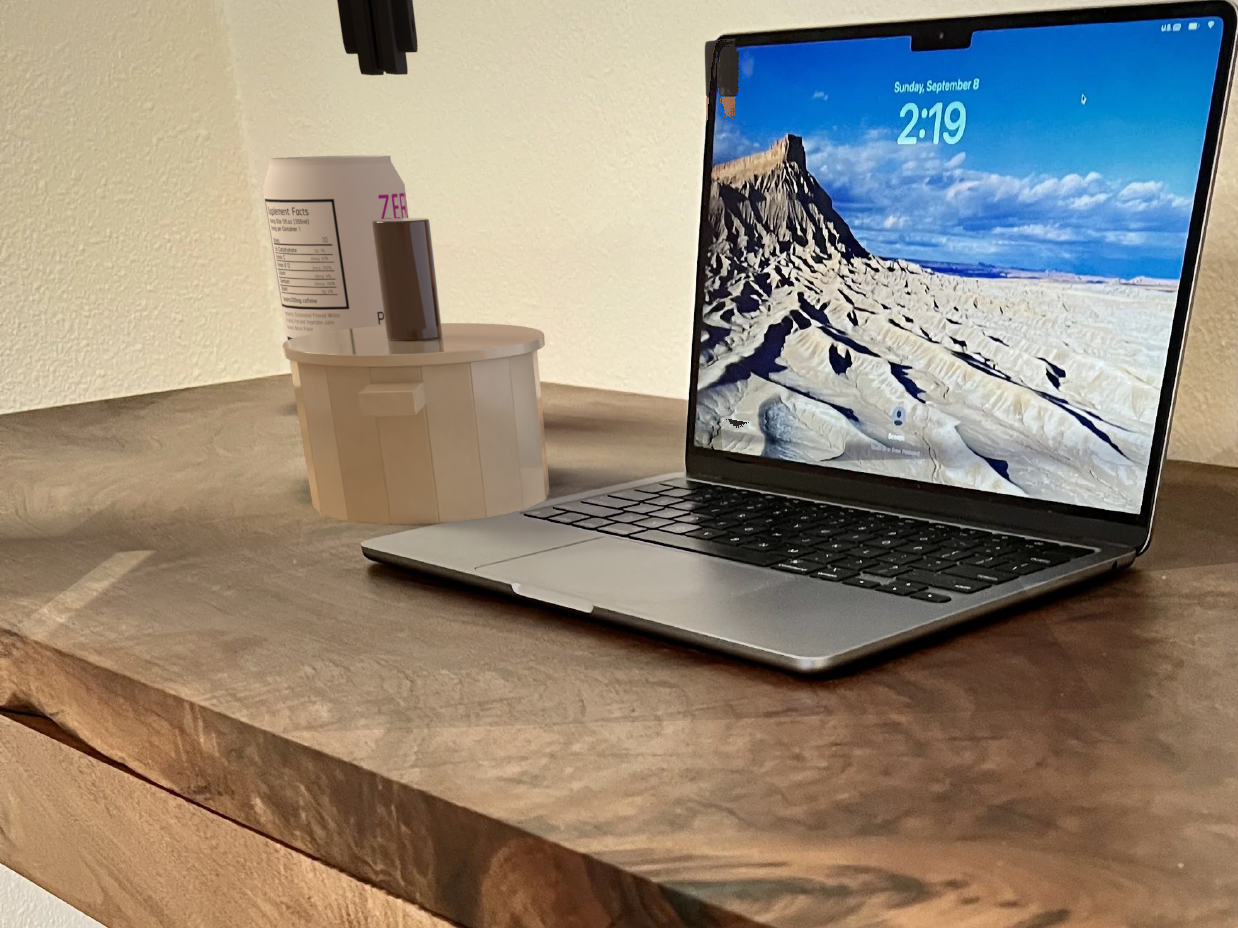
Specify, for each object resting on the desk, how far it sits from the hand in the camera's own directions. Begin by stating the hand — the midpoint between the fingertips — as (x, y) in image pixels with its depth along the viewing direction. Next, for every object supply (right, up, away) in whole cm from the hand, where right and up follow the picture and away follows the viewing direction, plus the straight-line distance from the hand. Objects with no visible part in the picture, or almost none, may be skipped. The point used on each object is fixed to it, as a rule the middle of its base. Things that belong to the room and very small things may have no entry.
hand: (384, 72), depth 71 cm
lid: (0, -10, +6) cm, 11 cm away
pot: (0, -16, +9) cm, 19 cm away
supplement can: (-9, -3, +32) cm, 33 cm away
